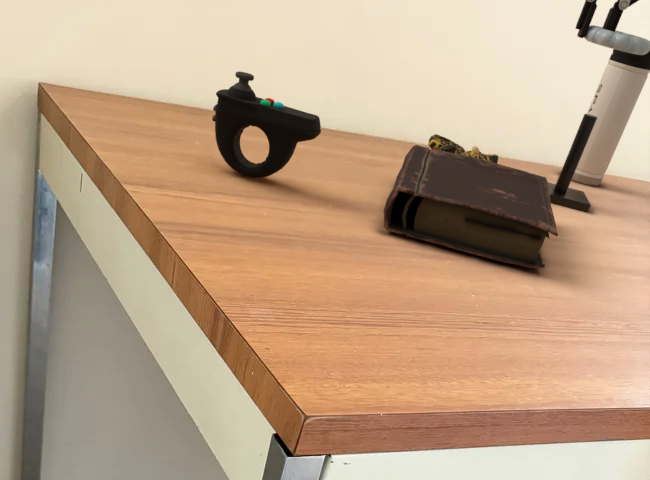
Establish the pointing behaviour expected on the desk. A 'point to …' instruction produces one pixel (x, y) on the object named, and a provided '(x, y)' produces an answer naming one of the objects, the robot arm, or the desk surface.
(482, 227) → the diary
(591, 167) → the travel mug
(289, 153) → the controller
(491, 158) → the toy snake
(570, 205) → the stand
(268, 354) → the desk surface
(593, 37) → the ring
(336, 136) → the desk surface
